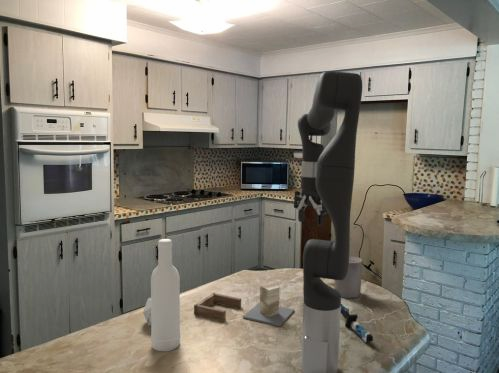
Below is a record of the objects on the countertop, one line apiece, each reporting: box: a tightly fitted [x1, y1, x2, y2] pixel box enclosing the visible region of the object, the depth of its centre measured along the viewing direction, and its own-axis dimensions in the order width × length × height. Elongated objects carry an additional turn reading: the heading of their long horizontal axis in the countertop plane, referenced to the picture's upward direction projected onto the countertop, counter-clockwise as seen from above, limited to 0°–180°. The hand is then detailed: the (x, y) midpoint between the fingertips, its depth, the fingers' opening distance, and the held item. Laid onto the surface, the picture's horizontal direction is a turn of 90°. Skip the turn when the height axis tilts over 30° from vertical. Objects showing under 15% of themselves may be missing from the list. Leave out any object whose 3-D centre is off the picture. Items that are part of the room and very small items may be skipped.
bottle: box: [150, 238, 181, 352], centre depth 115 cm, size 8×8×30 cm
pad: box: [242, 301, 295, 327], centre depth 138 cm, size 13×13×1 cm
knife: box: [340, 303, 374, 343], centre depth 132 cm, size 31×3×4 cm, turn 11°
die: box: [142, 297, 151, 327], centre depth 130 cm, size 8×9×10 cm
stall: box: [193, 292, 242, 322], centre depth 140 cm, size 12×11×3 cm
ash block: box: [259, 282, 280, 317], centre depth 137 cm, size 4×4×9 cm
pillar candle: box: [334, 254, 363, 299], centre depth 157 cm, size 10×10×15 cm
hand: (310, 223), depth 139 cm, fingers open, 8 cm apart
